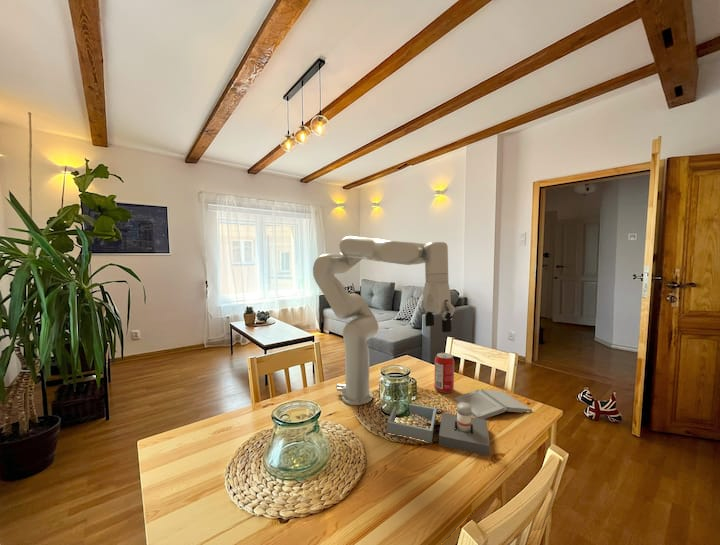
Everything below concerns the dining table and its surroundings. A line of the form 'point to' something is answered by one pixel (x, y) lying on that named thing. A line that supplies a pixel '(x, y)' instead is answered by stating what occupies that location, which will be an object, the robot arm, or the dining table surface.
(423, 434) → the parts tray
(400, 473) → the dining table surface
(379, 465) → the dining table surface
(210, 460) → the dining table surface
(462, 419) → the cylinder
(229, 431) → the dining table surface
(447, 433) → the grey flat square block
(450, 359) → the soda can
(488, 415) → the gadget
